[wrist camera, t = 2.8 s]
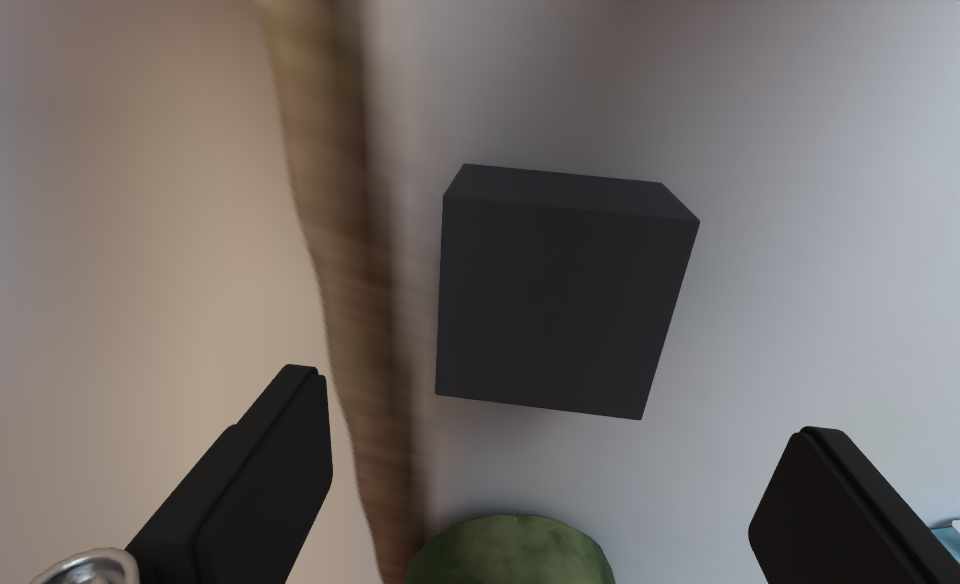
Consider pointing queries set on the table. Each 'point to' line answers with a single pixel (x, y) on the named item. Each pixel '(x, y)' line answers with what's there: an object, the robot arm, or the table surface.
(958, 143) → the table surface
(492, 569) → the green bottle
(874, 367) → the table surface
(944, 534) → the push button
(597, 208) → the small black block
